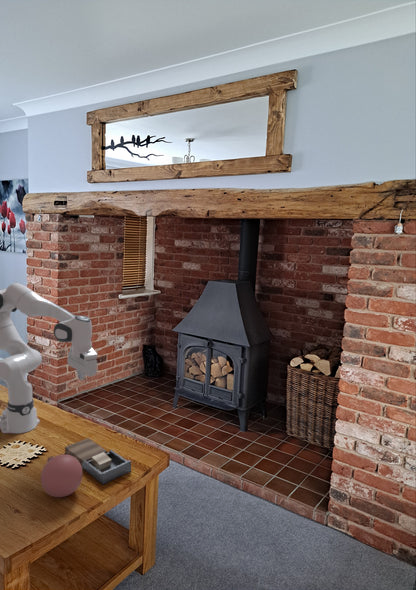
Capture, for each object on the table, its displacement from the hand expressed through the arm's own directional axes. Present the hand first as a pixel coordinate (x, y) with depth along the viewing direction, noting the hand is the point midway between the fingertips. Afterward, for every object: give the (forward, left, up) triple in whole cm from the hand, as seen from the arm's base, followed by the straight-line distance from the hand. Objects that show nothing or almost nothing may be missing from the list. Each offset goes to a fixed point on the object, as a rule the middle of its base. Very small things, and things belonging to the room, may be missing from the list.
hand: (81, 379), depth 200 cm
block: (+23, -4, -31) cm, 39 cm away
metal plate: (+10, -4, -33) cm, 34 cm away
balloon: (+26, -25, -33) cm, 49 cm away
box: (+27, -4, -33) cm, 42 cm away
